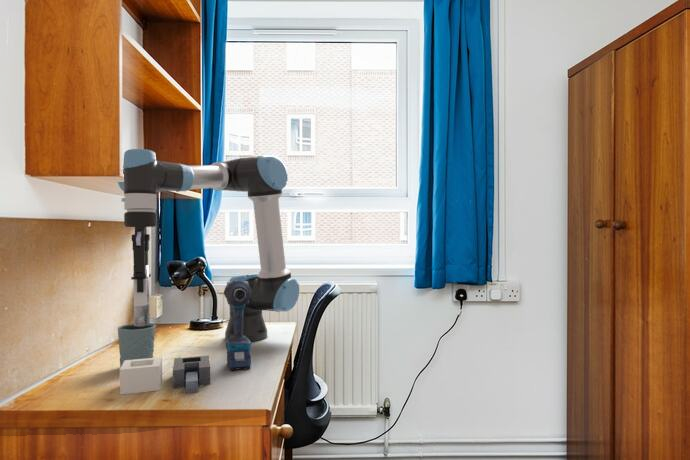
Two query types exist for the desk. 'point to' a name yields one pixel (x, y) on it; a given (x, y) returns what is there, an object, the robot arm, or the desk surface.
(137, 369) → the block
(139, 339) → the grey-green cup
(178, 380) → the socket block
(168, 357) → the desk surface
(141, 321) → the silver rounded rod
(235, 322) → the impact wrench
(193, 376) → the blue-grey rectangular bar
